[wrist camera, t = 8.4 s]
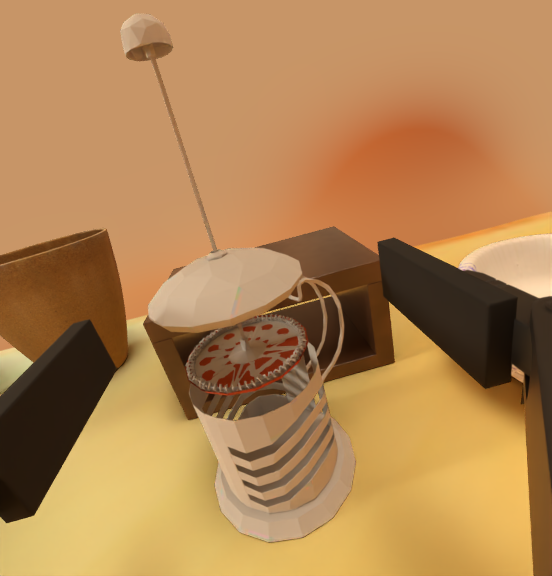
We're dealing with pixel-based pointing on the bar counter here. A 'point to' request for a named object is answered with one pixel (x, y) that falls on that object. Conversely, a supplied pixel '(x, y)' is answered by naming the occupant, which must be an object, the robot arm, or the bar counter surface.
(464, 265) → the paper bowls
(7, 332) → the plant pot
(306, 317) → the shelf
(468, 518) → the bar counter surface
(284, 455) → the french press
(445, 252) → the bar counter surface
